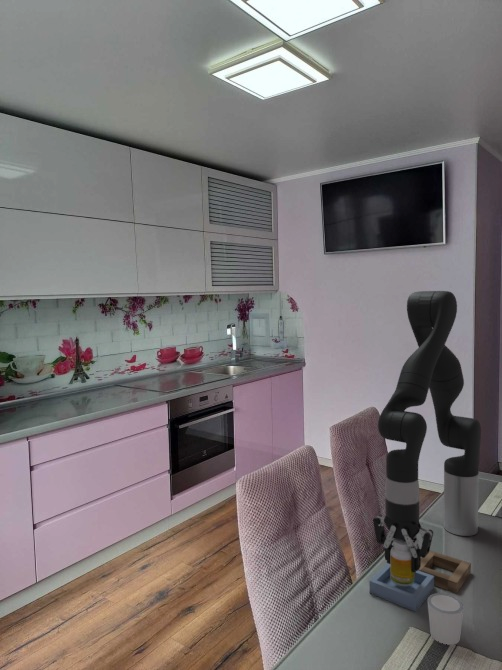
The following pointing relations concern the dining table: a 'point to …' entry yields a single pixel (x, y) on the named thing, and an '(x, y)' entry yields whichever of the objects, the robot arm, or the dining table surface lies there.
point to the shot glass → (445, 618)
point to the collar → (457, 566)
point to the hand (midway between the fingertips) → (402, 566)
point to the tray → (402, 588)
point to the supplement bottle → (401, 564)
